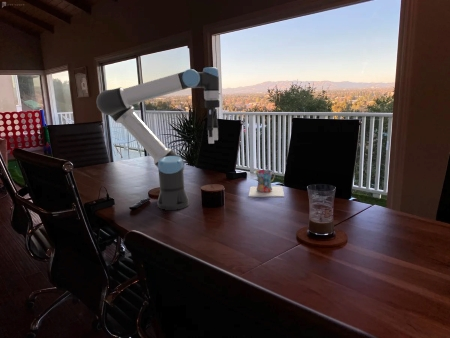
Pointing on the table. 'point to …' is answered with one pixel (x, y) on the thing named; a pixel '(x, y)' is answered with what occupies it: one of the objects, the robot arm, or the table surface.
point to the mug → (264, 180)
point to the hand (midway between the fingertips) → (213, 141)
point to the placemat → (275, 192)
